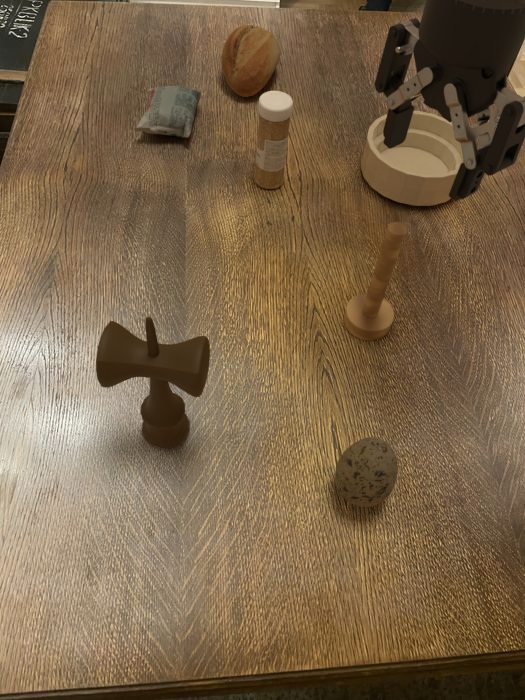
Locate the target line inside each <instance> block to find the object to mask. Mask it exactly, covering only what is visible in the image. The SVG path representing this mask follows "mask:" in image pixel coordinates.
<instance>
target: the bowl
mask: <svg viewBox="0 0 525 700" xmlns="http://www.w3.org/2000/svg"><path fill="white" fill-rule="evenodd" d="M386 117H387V113H385V114H384V115H381V116H380V117H378V118H376V119H375V120H374V121H373V122H372V124H371V125H370V126H369V127H368V131H367V134H366V139H365V140H366V141H365V143H364V148H363V153H362V156H361V161H360V169H361V173H362V176H363V178H364V180H365V181H366V183H368V185H369V187H370V188H372V189H373V190H374V191H376V192H377V193H378V194H380V195H381V196H382V197H384V198H387V199H389V200H392V201H394V202H397V203H400V204H405V205H410V206H413V207H414V206H415V207H416V206H417V207H424V206H426V207H427V206H428V207H430V206H437V205H439V204H443V203H446V202H448V201H450V200H452V199H451V198H450V197H449V193H450V190H451V188H452V185H453V183H454V180H455V177H456V175H457V172H458V170H459V167H460V165H461V163H463V162H464V160H463V154H462V149H461V144H460V142H458V141H456V139H455V136H454V131H453V125H452V122H448V121H447V120H446V119H444V118H443V117H442V116H441V115H437V114H435V113H433V112H426V111H421V110H414V111H413V115H412V118H411V122H410V125H409V129H408V132H407V136H406V139H405V141H404V142H403V143H402V144H400V145H397V146H395V147H393V148H388V147H387V146H386V145H384V138H385V137H384V136H383V130H384V125H385V122H386Z"/></svg>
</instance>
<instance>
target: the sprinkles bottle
mask: <svg viewBox="0 0 525 700" xmlns="http://www.w3.org/2000/svg"><path fill="white" fill-rule="evenodd" d="M293 105H294V102H293V98H292V97H291V95H289V94H288V93H286V92H285V91H280V90H269V91H265V92H263V93H262V94H261V95H260V96H259V98H258V106H257V107H258V108H257V111H258V115H259V116H258V127H257V138H256V152H255V172H254V176H253V177H254V182H255V184H256V185H257V186H259V187H260V188H262V189H266V190H274V189H279V188H280V187H281V186H282V185H283V184H284V183H285V176H284V175H285V167H286V164H287V163H286V162H287V153H288V144H289V137H290V132H289V131H290V123H291V117H292V114H293V107H294V106H293Z"/></svg>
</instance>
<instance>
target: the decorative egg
mask: <svg viewBox="0 0 525 700" xmlns="http://www.w3.org/2000/svg"><path fill="white" fill-rule="evenodd" d="M398 466H399V465H398V459H397V455H396V453H395V451H394V449H393V447H392V445H390V443H389V442H387V441H386V440H384V439H382V438H379V437H374V436H371V437H369V436H368V437H365V438H361V439H359V440H357V441H356V442H353V443H351V445H349V446H348V447H347V448H346V449H345V450H344V451H343V453H341V455H340V457H339V458H338V460H337V463H336V465H335V471H334V481H335V486H336V488H337V490H338V492H339V494H340V495H341V496H342V498H343V499H344V500H345V501H346V502H348V503H349V504H351V505H354V506H357V507H361V508H369V507H374V506H377V505H379V504H381V503H382V502H384V501H386V500H387V498H388V497H389V496H390V495H391V493H392V491H393V490H394V488H395V486H396V484H397V480H398V474H399V473H398V471H399V469H398Z"/></svg>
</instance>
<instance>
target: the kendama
mask: <svg viewBox="0 0 525 700" xmlns="http://www.w3.org/2000/svg"><path fill="white" fill-rule="evenodd" d="M145 337H146V340H143V339H142V338H140V337H138V336H137V335H135V334H134V333H132V332H131V331H130V330H128V329H127V328H126V327H125V326H123V325H122V324H120V323H119V322H117V321H114V320H110V321H109V322H108V323H107V324H106V325H105V327H104V328H103V331H102V333H101V335H100V338H99V341H98V345H97V351H96V357H95V373H96V379H97V382H98V384H99V385H100V387H101V388H105V389H107V388H111V387H114V386H117V385H120V384H121V383H123V382H125V381H128V380H131V379H133V378H148V379H149V393H148V395H147V396H145V398H143V400H142V403H141V405H140V414H139V415H140V416H141V419H142V423H141V434H142V436H143V440H144V441H145V442H146V443H148V444H149V445H150V446H152V447H154V448H158V449H173V448H176V447H179V446H181V444H183V443H184V442H185V440H186V439H187V438H188V434H189V432H190V423H191V422H190V419H189V417H188V414H187V413H186V404H185V402H184V399H183V397H181V396H180V395H179V394H177V393H175V392H173V391H172V388H171V386H170V384H171V385H173V386H175V387H176V388H178V389H179V390H181V391H183V392H185V393H186V394H188V395H189V396H191V397H194V398H200V397H201V396H202V395H203V392H204V390H205V387H206V383H207V381H208V374H209V368H210V360H211V359H210V358H211V345H210V340H209V338H208V336H205V335H199V336H195V337H192V338H189V339H187V340H184V341H181V342H178V343H171V344H170V343H168V344H167V343H160V342H159V340H158V336H157V332H156V326H155V323H154V320H153V318H152V317H150V316H146V317H145Z"/></svg>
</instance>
